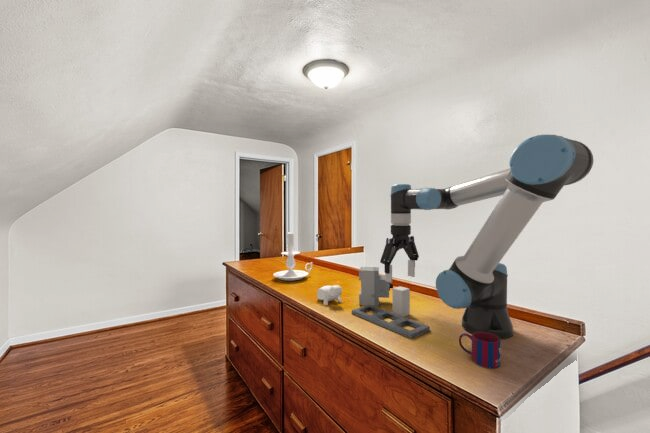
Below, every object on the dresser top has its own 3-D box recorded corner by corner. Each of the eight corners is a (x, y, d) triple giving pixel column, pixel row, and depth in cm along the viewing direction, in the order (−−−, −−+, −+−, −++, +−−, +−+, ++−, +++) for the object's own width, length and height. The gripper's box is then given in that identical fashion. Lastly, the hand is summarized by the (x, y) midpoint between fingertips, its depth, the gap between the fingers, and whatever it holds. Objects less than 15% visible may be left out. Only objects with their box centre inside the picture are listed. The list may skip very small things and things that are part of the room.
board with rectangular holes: (430, 330, 98) (429, 326, 98) (411, 338, 92) (411, 334, 92) (369, 308, 120) (369, 304, 120) (351, 313, 114) (351, 310, 114)
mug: (496, 371, 73) (496, 345, 73) (455, 357, 80) (455, 333, 80) (503, 361, 78) (503, 336, 78) (464, 349, 85) (464, 326, 85)
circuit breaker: (393, 306, 122) (393, 271, 121) (359, 305, 125) (358, 270, 124) (392, 301, 129) (392, 267, 129) (360, 299, 132) (360, 266, 132)
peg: (409, 314, 113) (409, 288, 113) (402, 317, 111) (402, 290, 110) (400, 311, 117) (400, 286, 117) (392, 313, 114) (392, 288, 114)
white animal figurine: (316, 307, 131) (331, 304, 119) (313, 288, 134) (328, 283, 121) (333, 304, 135) (349, 300, 123) (329, 285, 138) (345, 280, 125)
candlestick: (320, 279, 170) (320, 231, 169) (280, 285, 158) (279, 233, 157) (305, 272, 188) (305, 229, 187) (268, 277, 176) (267, 231, 175)
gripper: (412, 222, 123) (412, 272, 124) (370, 225, 108) (370, 282, 109) (428, 223, 117) (427, 275, 118) (386, 226, 102) (386, 286, 103)
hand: (400, 279), depth 114 cm, fingers open, 13 cm apart
